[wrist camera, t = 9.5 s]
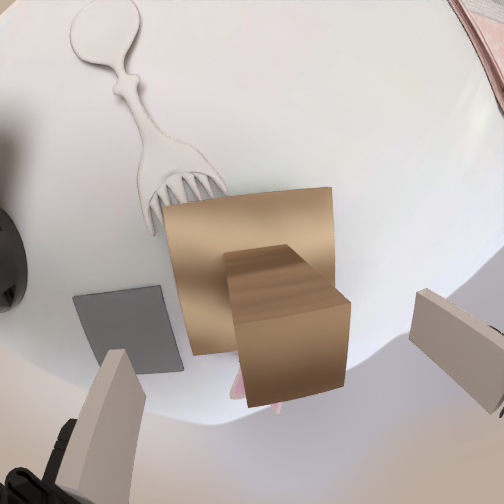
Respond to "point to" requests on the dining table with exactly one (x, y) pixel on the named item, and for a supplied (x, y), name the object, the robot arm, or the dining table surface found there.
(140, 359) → the plate
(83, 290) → the dining table surface
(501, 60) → the towel
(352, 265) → the dining table surface
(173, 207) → the lid
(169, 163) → the white spork
